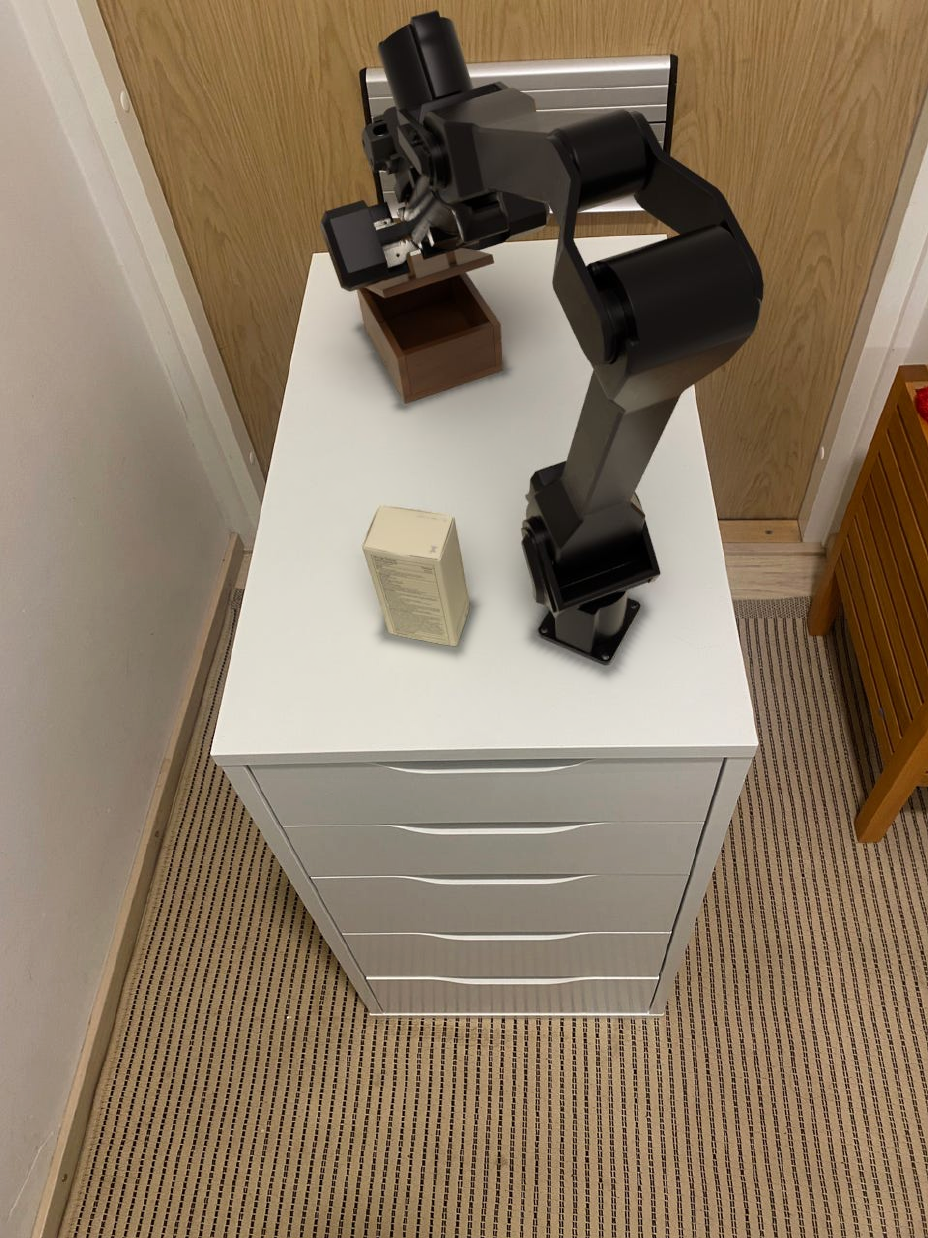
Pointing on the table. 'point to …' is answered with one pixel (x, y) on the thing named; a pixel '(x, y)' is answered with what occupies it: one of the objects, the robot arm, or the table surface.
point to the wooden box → (433, 335)
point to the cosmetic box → (418, 573)
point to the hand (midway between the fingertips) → (421, 247)
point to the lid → (432, 270)
